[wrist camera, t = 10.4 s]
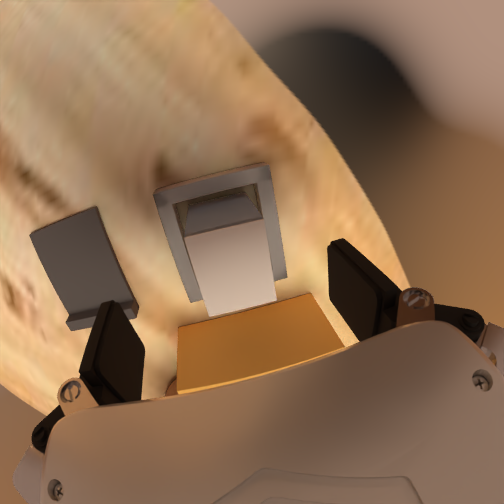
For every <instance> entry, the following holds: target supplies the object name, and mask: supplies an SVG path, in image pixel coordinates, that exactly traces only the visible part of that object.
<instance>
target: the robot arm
mask: <svg viewBox="0 0 504 504" xmlns="http://www.w3.org/2000/svg"><path fill="white" fill-rule="evenodd" d="M327 253H328V278H329V297H330V300H331V302H332V303H333V305H334V306H335V308H336V309H337V310H338V312H339V313H340V315H341V316H342V317H343V319H344V320H345V322H346V323H347V324H348V326H349V327H350V329H351V330H352V331H353V333H354V334H355V336H356V337H357V339H358V340H359V341H360V342H358V343H356V344H353V345H351V346H348V347H345V348H343V349H340V350H338V351H335V352H332V353H330V354H327V355H324V356H321V357H318V358H316V359H313V360H310V361H307V362H304V363H301V364H298V365H295V366H292V367H288V368H285V369H282V370H279V371H275V372H272V373H268V374H265V375H261V376H258V377H254V378H250V379H247V380H243V381H239V382H235V383H231V384H227V385H222V386H218V387H214V388H209V389H204V390H199V391H195V392H189V393H184V394H179V395H173V396H167V397H161V398H154V399H147V400H141V395H142V380H143V368H144V358H145V348H144V345H143V343H142V341H141V340H140V338H139V337H138V335H137V333H136V332H135V330H134V328H133V326H132V325H131V323H130V321H129V320H128V318H127V316H126V314H125V313H124V311H123V309H122V307H121V305H120V304H119V303H118V302H115V301H114V300H111V301H107V302H103V303H101V305H100V308H99V310H98V313H97V316H96V319H95V321H94V324H93V327H92V330H91V333H90V336H89V339H88V342H87V345H86V348H85V352H84V355H83V358H82V362H81V365H80V369H79V373H80V377H79V378H71V379H68V380H67V381H65V382H64V383H63V384H62V385H61V387H60V388H59V390H58V394H57V399H58V402H59V404H60V405H59V406H57V407H56V408H55V409H54V410H53V411H52V412H51V413H50V414H49V415H48V416H47V417H46V418H44V419H43V420H42V421H41V422H40V423H39V424H38V425H37V426H36V427H35V429H34V431H33V433H32V444H33V447H30V446H29V448H28V449H27V451H26V452H25V454H24V456H23V458H22V459H21V461H20V463H19V464H18V466H17V468H16V470H15V472H14V474H13V484H14V486H15V488H16V489H17V491H18V492H19V493H20V494H21V495H22V497H23V498H24V499H25V500H26V502H27V503H28V504H504V328H502V327H499V326H497V325H495V324H492V323H490V322H489V323H488V325H486V324H485V323H484V319H483V318H482V316H481V315H480V314H479V313H477V312H476V311H474V310H470V309H464V308H458V307H452V306H446V305H440V304H434V299H433V296H432V295H431V294H430V293H429V292H428V291H426V290H424V289H422V288H417V287H416V288H415V287H412V288H407V289H405V290H403V291H401V290H400V289H399V288H398V286H397V285H395V284H394V283H393V282H392V281H391V280H390V279H389V278H388V277H387V276H386V275H385V274H384V273H383V272H382V271H380V270H379V269H378V268H377V267H376V266H375V265H374V264H373V263H372V262H370V261H369V260H368V259H367V258H366V257H365V256H364V255H363V254H361V253H360V252H359V251H358V250H357V249H356V248H355V247H353V246H352V245H351V244H350V243H349V242H348V241H346V240H345V239H344V238H342V239H338V240H335V241H332V242H331V243H330V245H329V246H328V247H327Z"/></svg>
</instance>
